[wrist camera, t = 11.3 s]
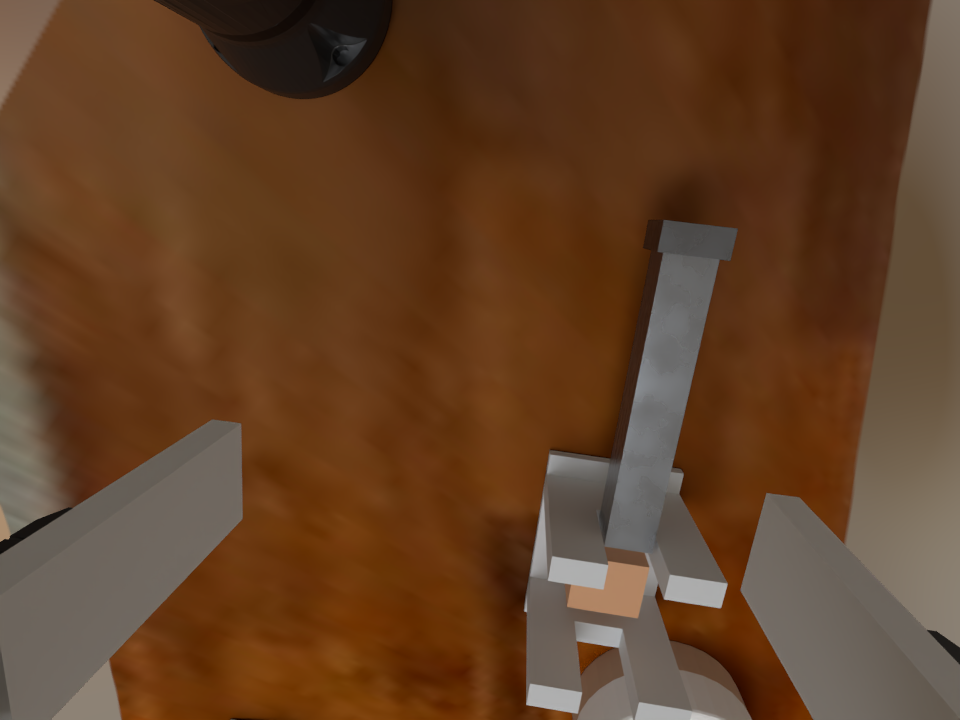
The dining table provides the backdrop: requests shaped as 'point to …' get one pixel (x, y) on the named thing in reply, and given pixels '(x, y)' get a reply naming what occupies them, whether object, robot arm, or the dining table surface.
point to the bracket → (583, 562)
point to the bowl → (704, 679)
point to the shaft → (659, 376)
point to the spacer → (614, 586)
